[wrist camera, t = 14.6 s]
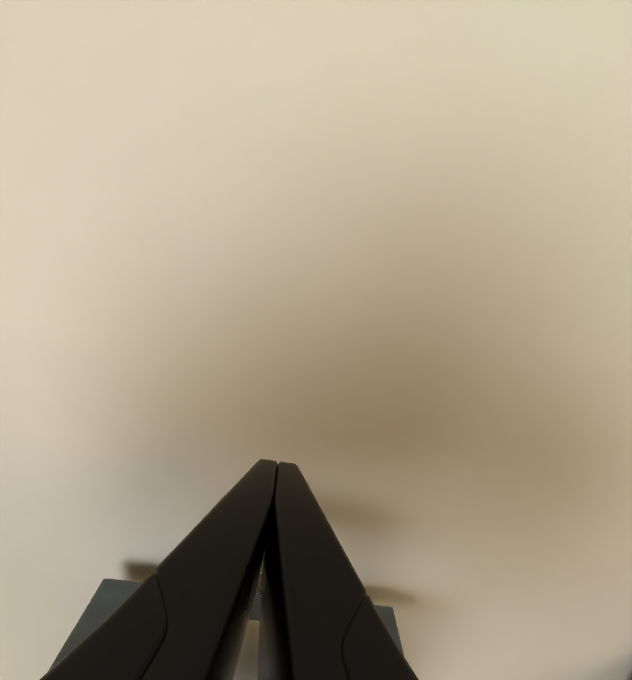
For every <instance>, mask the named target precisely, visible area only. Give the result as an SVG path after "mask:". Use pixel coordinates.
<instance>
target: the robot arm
mask: <svg viewBox="0 0 632 680" xmlns="http://www.w3.org/2000/svg"><path fill="white" fill-rule="evenodd" d="M277 466H278V467H277ZM264 550H265V551H264ZM263 556H264V558H263ZM262 562H263V565H262ZM261 568H262V575H261V594H260V621H259V648H258V676H257V680H418V678H417V676H416V675H415V673H414V672H413V670H412V669H411V667H410V666H409V664H408V662H407V661H406V659H405V658H404V656H403V655H402V653H401V652H400V650H399V648H398V646H397V645H396V643H395V641H394V640H393V638H392V636H391V634H390V633H389V631H388V629H387V627H386V626H385V624H384V622H383V621H382V619H381V617H380V615H379V614H378V612H377V610H376V608H375V606H374V604H373V602H372V601H371V599H370V597H369V596H366V590H365V588H364V586H363V584H362V583H361V581H360V579H359V577H358V575H357V574H356V572H355V570H354V568H353V566H352V564H351V563H350V561H349V559H348V557H347V555H346V553H345V552H344V550H343V548H342V546H341V544H340V543H339V541H338V539H337V537H336V535H335V533H334V532H333V530H332V528H331V526H330V524H329V522H328V521H327V519H326V517H325V515H324V513H323V512H322V510H321V508H320V506H319V504H318V502H317V501H316V499H315V497H314V495H313V493H312V491H311V490H310V488H309V486H308V484H307V482H306V481H305V479H304V477H303V475H302V473H301V471H300V470H299V468H298V466H297V465H296V464H294V463H287V462H279V463H277V462H276V461H272V460H265V459H260V460H259V461H258V462H257V463H256V464H255V465H254V466H253V467H252V468H251V469H250V470H249V471H248V472H247V473H246V474H245V475H244V476H243V477H242V478H241V480H240V481H239V482H238V483H237V484H236V485H235V486H234V487H233V488H232V489H231V490H230V491H229V492H228V493H227V494H226V495H225V496H224V497H223V498H222V499H221V501H220V502H219V503H218V504H217V505H216V506H215V507H214V508H213V509H212V510H211V511H210V512H209V513H208V514H207V515H206V516H205V517H204V518H203V519H202V520H201V522H200V523H199V524H198V525H197V526H196V527H195V528H194V529H193V530H192V531H191V532H190V533H189V534H188V535H187V536H186V537H185V538H184V539H183V540H182V541H181V543H180V544H179V545H178V546H177V547H176V548H175V549H174V550H173V551H172V552H171V553H170V554H169V555H168V556H167V557H166V558H165V559H164V560H163V561H162V562H161V564H160V565H159V566H158V567H157V568H156V569H155V573H151V574H150V575H149V576H148V577H147V578H146V579H145V580H144V581H143V582H142V583H141V584H140V585H139V586H138V587H137V588H136V590H135V591H134V592H133V593H132V594H131V595H130V596H129V597H128V598H127V599H126V600H125V601H124V602H123V603H122V604H121V605H120V606H119V607H118V608H117V609H116V610H115V611H114V612H113V613H112V614H111V615H110V616H109V617H108V618H107V619H106V620H105V621H104V622H103V623H102V624H101V625H99V626H98V627H97V628H96V629H95V630H94V631H93V632H92V633H91V634H90V635H88V636H87V637H86V638H85V639H84V640H83V641H82V642H81V643H80V644H79V645H78V646H76V647H75V648H74V649H73V650H72V651H71V652H70V653H69V654H68V655H67V656H65V657H64V658H63V659H62V660H61V661H60V662H59V663H58V664H57V665H55V666H54V667H53V668H52V669H51V670H50V671H49V672H48V673H46V674H45V675H44V676H43V677H42V678H41V679H40V680H233V678H234V674H235V670H236V666H237V662H238V658H239V655H240V651H241V647H242V643H243V639H244V636H245V632H246V628H247V624H248V620H249V617H250V613H251V609H252V605H253V601H254V598H255V594H256V590H257V586H258V582H259V578H260V573H261Z"/></svg>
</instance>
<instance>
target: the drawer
mask: <svg viewBox="0 0 632 680" xmlns="http://www.w3.org/2000/svg"><path fill="white" fill-rule="evenodd" d="M141 583H142V582H136V581H126V580H115V579H104V580H103V581H102V583H101V584H100V586H99V588H98V589H97V591H96V593H95V594H94V596H93V598H92V599H91V601H90V603H89V604H88V606H87V608H86V609H85V611H84V613H83V614H82V616H81V618H80V619H79V621H78V623H77V624H76V626H75V628H74V629H73V631H72V633H71V634H70V636H69V638H68V639H67V641H66V643H65V644H64V646H63V648H62V649H61V651H60V653H59V654H58V656H57V658H56V659H55V661H54V663H53V664H52V666H51V668H50V669H49V671H50V670H51V669H52V668H53V667H54V666H55V665H57V664H58V663H59V662H60V661H61V660H62V659H63V658H64V657H65V656H67V655H68V654H69V653H70V652H71V651H72V650H73V649H74V648H75V647H76V646H78V645H79V644H80V643H81V642H82V641H83V640H84V639H85V638H86V637H87V636H88V635H90V634H91V633H92V632H93V631H94V630H95V629H96V628H97V627H98V626H99V625H101V624H102V623H103V622H104V621H105V620H106V619H107V618H108V617H109V616H110V615H111V614H112V613H113V612H114V611H115V610H116V609H117V608H118V607H119V606H120V605H121V604H122V603H123V602H124V601H125V600H126V599H127V598H128V597H129V596H130V595H131V594H132V593H133V592H134V591H135V590H136V588H137V587H138V586H139V585H140V584H141ZM374 606H375V608H376V610H377V612H378V614H379V615H380V617H381V619H382V621H383V622H384V624H385V626H386V627H387V629H388V631H389V633H390V634H391V636H392V638H393V640H394V641H395V643H396V645H397V646H398V648H399V650H400V652H401V653H402V655H403V656H404V654H403V650H402V646H401V641H400V637H399V633H398V628H397V624H396V620H395V616H394V611H393V608H392V607H387V606H377V605H374ZM259 621H260V594H255V598H254V601H253V605H252V609H251V613H250V617H249V620H248V624H247V628H246V632H245V636H244V639H243V643H242V647H241V651H240V655H239V658H238V662H237V666H236V670H235V674H234V678H233V680H257V676H258V648H259ZM49 671H48V672H49Z"/></svg>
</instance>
